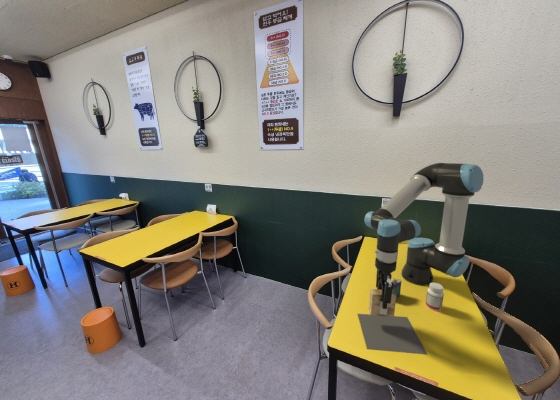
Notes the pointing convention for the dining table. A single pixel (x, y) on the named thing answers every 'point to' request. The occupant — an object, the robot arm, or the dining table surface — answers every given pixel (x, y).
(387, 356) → the dining table surface
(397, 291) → the flask
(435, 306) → the pill bottle
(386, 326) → the mat
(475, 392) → the dining table surface
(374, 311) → the oak tile
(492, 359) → the dining table surface
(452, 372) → the dining table surface
